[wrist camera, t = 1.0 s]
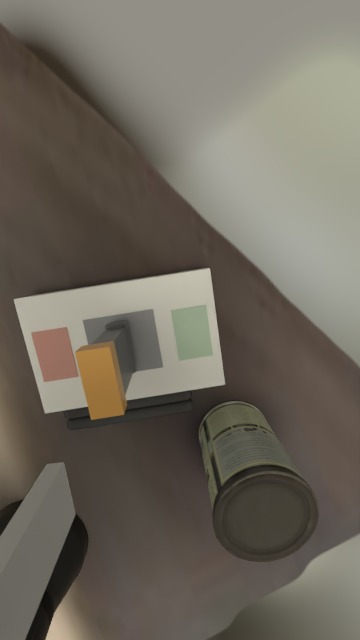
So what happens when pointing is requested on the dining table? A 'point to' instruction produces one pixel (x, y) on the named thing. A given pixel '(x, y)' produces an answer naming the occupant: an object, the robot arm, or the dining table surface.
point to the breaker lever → (107, 370)
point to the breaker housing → (145, 330)
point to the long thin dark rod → (134, 410)
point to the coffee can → (254, 485)
